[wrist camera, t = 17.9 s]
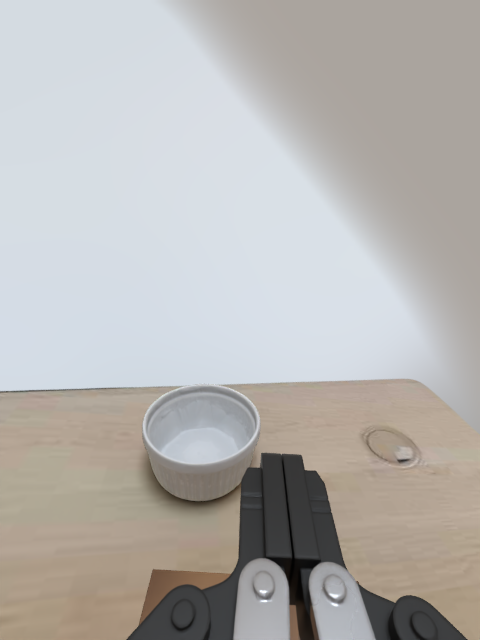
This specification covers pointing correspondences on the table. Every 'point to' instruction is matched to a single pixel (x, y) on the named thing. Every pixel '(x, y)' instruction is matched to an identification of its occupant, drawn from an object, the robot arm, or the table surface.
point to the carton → (170, 579)
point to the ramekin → (201, 440)
